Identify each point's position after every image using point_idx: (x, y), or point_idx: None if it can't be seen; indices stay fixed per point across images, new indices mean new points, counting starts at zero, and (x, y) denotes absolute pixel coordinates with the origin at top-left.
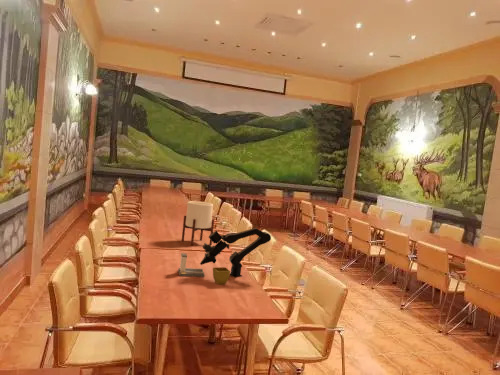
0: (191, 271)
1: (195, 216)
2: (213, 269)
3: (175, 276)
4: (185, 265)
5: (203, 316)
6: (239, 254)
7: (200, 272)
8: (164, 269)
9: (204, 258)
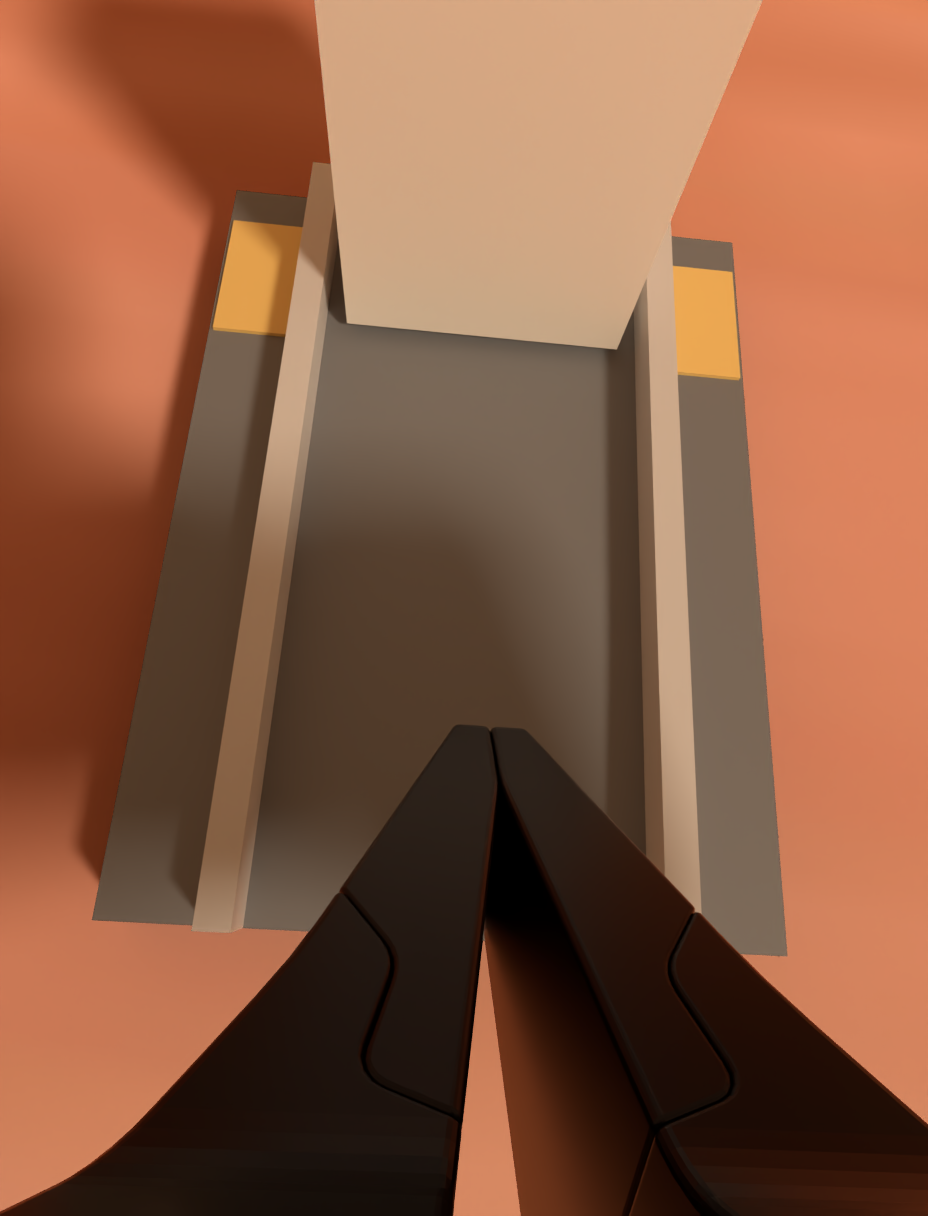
0: (292, 464)
1: None
2: None
3: (207, 158)
4: (330, 135)
5: None
6: None
7: (219, 772)
8: (741, 55)
9: (414, 1026)
